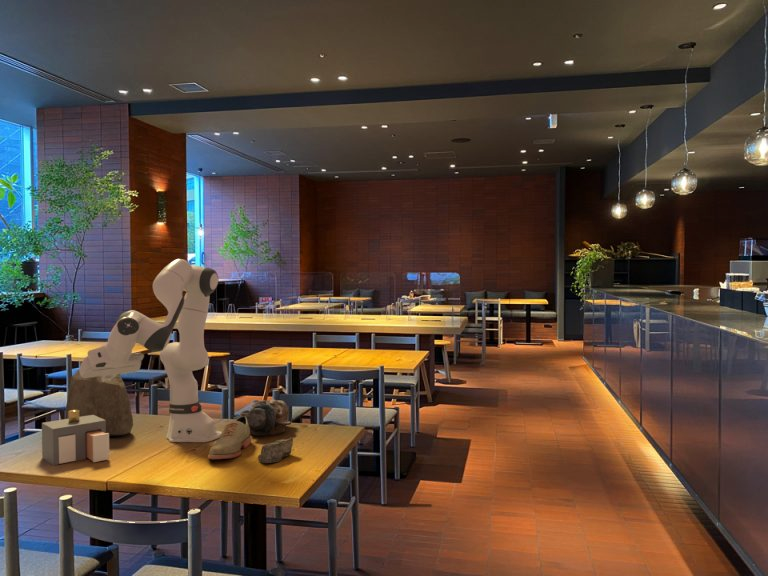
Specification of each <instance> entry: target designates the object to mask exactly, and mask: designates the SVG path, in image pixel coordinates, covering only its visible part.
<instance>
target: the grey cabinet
mask: <svg viewBox="0 0 768 576" xmlns="http://www.w3.org/2000/svg"><path fill="white" fill-rule="evenodd" d="M93 430H100V431H102V432H104V433H106V420H104V419H102V418H99V417H97V416H95V415H88V416H82V417H79V422H75V423H69V419H65V418H64V419H59V420H58V419H57V420H52V421H46V422H41V445H42V447H41V448H42V449H41V451H42V454H41V455H42V456H41V457H42V459H43V460H45V461H46V462H48V463H49V464H50V463H51V466H53V465H54V466H58V465H59V462H58V437H59V436H64V435H70V434H72V435H73V434H75V443H76V461H75V462H77V461H81V460H82V461H83V460H86V459H87V457H86V436H85V432H87V431H93Z"/></svg>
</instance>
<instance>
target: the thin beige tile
mask: <svg viewBox="0 0 768 576" xmlns="http://www.w3.org/2000/svg"><path fill="white" fill-rule="evenodd" d="M70 462H77V461H76V443H75V434H73V435H72V434H70V435H64V436H59V437H58V465H59V464H60V465H61V464H65V463H70Z"/></svg>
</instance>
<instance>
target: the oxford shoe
mask: <svg viewBox="0 0 768 576" xmlns="http://www.w3.org/2000/svg"><path fill="white" fill-rule="evenodd" d="M251 443H252V437H251V434H250V428H249V424H248V421H247V418H246V417H245V416H241V415H240V416H239V417H238V418H236V420H234V419H233V420H231V421H229V422H227V423H226V425H225V427H224V429H223V430H222V434H221V436H220V437H219V438H217V439H216V442H214V444H213V445H212V447H210V449H209V453H208V454H207V459H208V460H227V459H233V458H237V457H239V456H240V455H241V453H242V451H241V449H245V448H247V447H248V446H249V445H251Z"/></svg>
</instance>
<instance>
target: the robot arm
mask: <svg viewBox="0 0 768 576" xmlns="http://www.w3.org/2000/svg"><path fill="white" fill-rule="evenodd" d="M218 284H219V275H218V272H217V271H216V270H215V269H213V268H210V267H204V266H202V265H201V266H200V265H194V264H191V263H190V262H189V261H187V260H186V259H182V258H177V259H174V260H172V261H171V262H170V263H168V264H167V265H166V266H164V267H163V268H162V270H161V271H160V272H159V273H158V274H157V275H156V276H155V278H154V280H153V282H152V291H153V294H154V296H155V297H156V299H157V300H158V301H159V302H160V303H161V304H162V305H163V306H164V307H165V309H166V310H167V315H166V318H165V320H164V321H163V323H160V322H158V321H156V320H153V319H152V318H151V317H148V316H147V315H145V314H143V313H141V312H139V311H137V310H135V309H131V310H128V311H124V312H123V313H121V314H120V315H119V316H118V318H117V319H116V320H115V322H114V323H113V324H114V325H113V326H112V329H111V331H110V334H109V336H108V338H107V343H106V344H104V345H102V346H99V347H96V348H92V349H90V350H89V349H88V351H87V356H86V357H84V358H83V360H82V361H81V364H80V366H79V369H78V370H79V372H80V375H81V377H82V378H90V377H98V376H102V378H101V379H102V382H104V381H111V379H112V378H113V377H115V376H116V375H117V374H120V375H123V374H132V373H137V372H138V371H140V369H141V365H142V361H143V359H144V358H145V355H144V353H142V352H133V351H132V350H133V349H134V347H135V346H136V344H138V345H140V346H143V348H145V349H146V350H148V351H149V352H151V353H157V352H159V359H160V361H161V363H162V364H163V366H164V368H165V372H166V375H167V379H168V384H169V401H170V402H169V403H168V412H169V423H168V429H167V430H168V431H167V434H166V436H165V438H166V439H167V440H168V441H169V443H171V442H172V443H209V442H211V441H214V440H218V439H219V438H220V436H221V434H222V433H223V431H220V430H217V426H216V425H217V424H216V422H215V420H214V419H213V418H212V417H210V416H209V414H207V413H205V412H204V411H203V408H202V407H204V403H200V401H199V395H198V394H199V389H198V387H199V384H198V381H197V379H196V378H195V376H194V374H193V372H194V371H198V370H202V369H203V368H205V367H206V365H207V364H208V361H209V354H208V351H207V349H206V347H205V340H204V339H205V338H204V337H205V336H204V335H205V334H204V333H205V327H206V321H207V319H208V318H207V317H208V312H209V307H210V300H211V299H210V297H211V296H210V295H211V294H212V293H214V292H215V291H216V289H217V287H218ZM183 292H186V293H185V294H184V296H183ZM175 325H176V328H177V330H178V333H179V342H178V341H175V342H170V340H171V336H172V333H173V330H174V328H175Z"/></svg>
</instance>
